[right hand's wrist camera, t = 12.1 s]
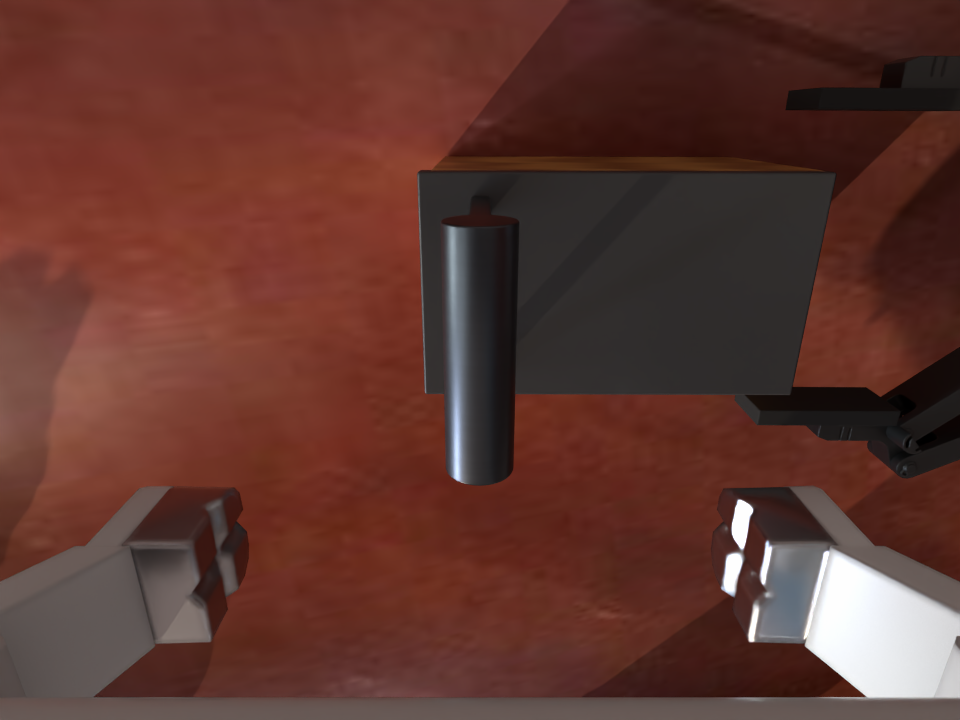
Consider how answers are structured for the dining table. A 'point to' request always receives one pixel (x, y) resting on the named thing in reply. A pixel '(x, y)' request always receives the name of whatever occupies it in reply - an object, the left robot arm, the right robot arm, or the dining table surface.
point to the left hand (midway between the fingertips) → (771, 266)
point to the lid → (608, 289)
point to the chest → (611, 164)
